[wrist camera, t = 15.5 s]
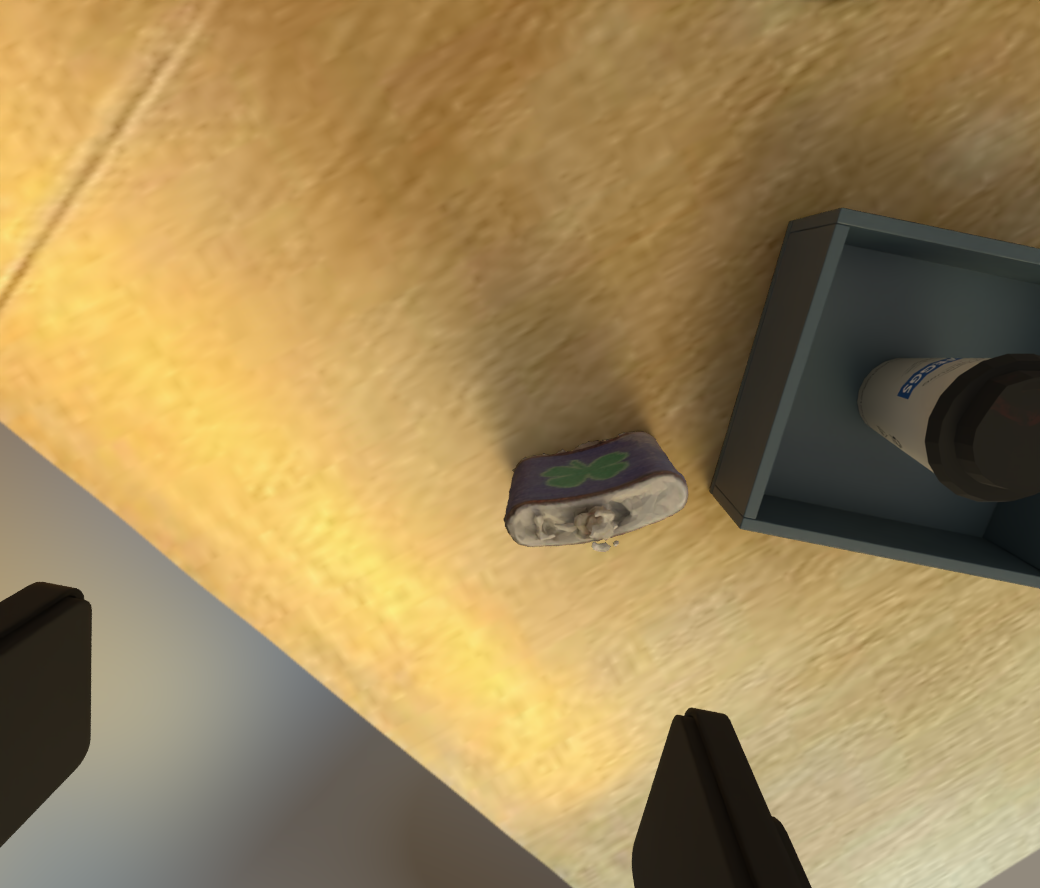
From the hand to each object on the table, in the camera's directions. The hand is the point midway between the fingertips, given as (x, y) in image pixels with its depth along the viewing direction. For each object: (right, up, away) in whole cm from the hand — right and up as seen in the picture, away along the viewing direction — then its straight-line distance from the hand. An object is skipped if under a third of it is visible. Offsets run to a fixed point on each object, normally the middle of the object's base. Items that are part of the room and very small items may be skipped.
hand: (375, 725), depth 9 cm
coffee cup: (+25, +7, +26) cm, 36 cm away
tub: (+25, +7, +26) cm, 37 cm away
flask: (+6, +3, +28) cm, 29 cm away
